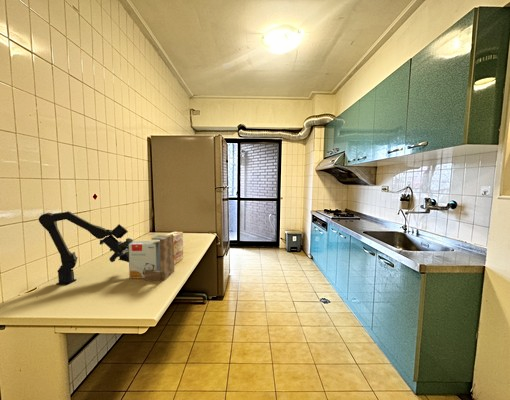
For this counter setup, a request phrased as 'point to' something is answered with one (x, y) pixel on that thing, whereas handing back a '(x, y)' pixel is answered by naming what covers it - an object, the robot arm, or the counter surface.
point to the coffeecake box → (177, 246)
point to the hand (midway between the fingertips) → (133, 262)
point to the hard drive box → (143, 258)
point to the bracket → (163, 259)
